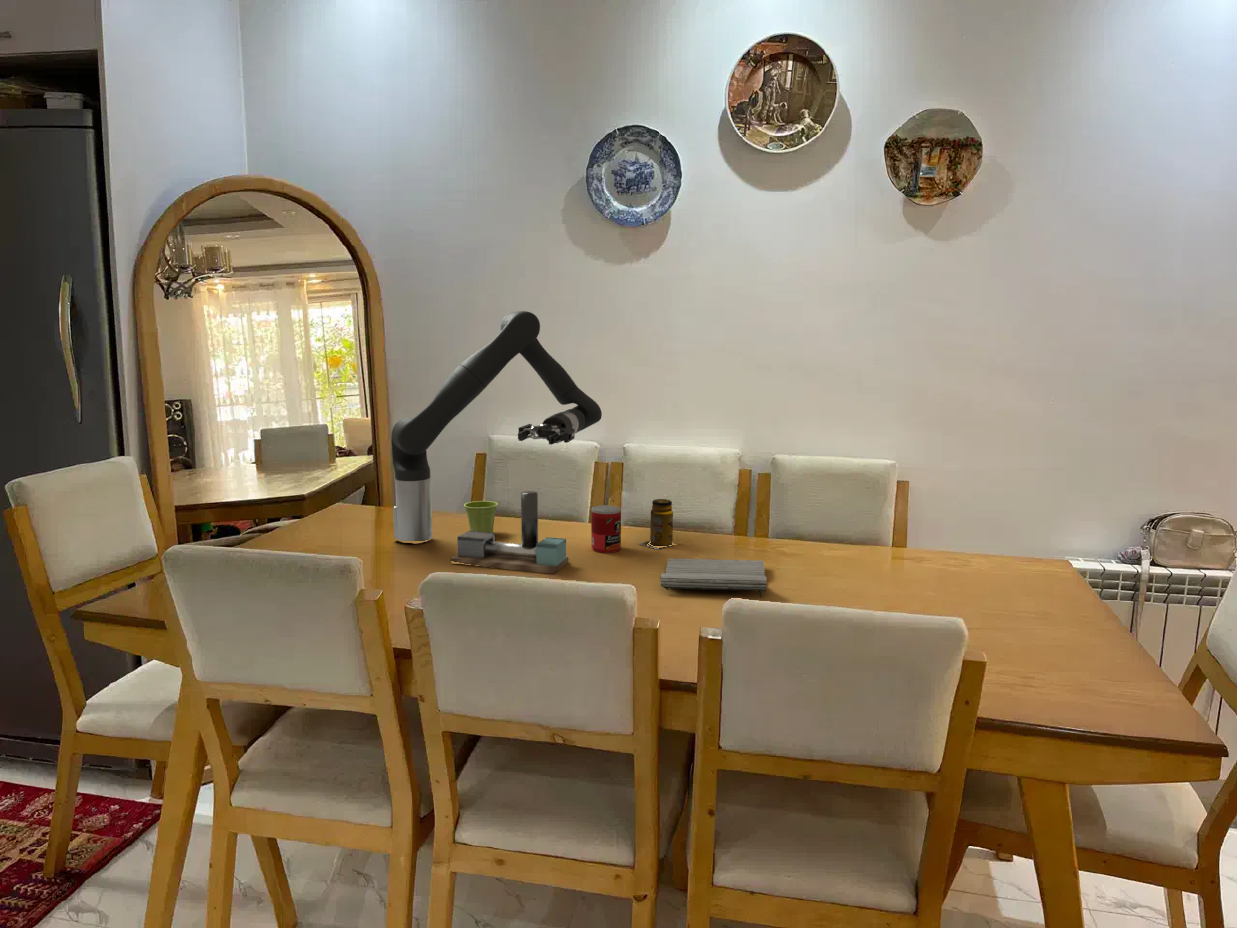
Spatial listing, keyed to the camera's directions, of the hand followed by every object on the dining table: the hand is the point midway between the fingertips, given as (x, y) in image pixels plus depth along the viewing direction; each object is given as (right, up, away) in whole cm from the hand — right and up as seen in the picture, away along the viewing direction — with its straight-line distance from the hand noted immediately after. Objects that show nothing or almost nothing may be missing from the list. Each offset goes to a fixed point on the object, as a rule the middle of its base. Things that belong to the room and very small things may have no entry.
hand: (534, 438), depth 210 cm
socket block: (+5, -30, -11) cm, 32 cm away
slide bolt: (-3, -29, -8) cm, 30 cm away
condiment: (+32, -28, +11) cm, 44 cm away
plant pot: (-17, -26, +21) cm, 38 cm away
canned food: (+18, -29, +6) cm, 35 cm away
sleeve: (-14, -29, -5) cm, 33 cm away
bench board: (-5, -31, -7) cm, 32 cm away
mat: (+44, -34, -20) cm, 59 cm away
